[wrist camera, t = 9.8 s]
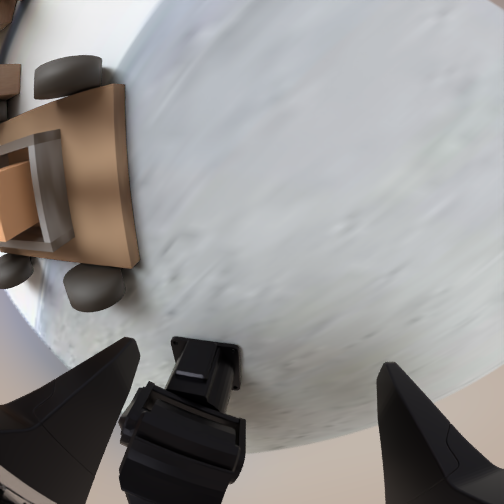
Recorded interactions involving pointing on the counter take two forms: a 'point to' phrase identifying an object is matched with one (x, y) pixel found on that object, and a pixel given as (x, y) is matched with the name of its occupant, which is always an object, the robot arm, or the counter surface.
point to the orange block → (16, 200)
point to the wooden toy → (8, 75)
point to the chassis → (74, 182)
